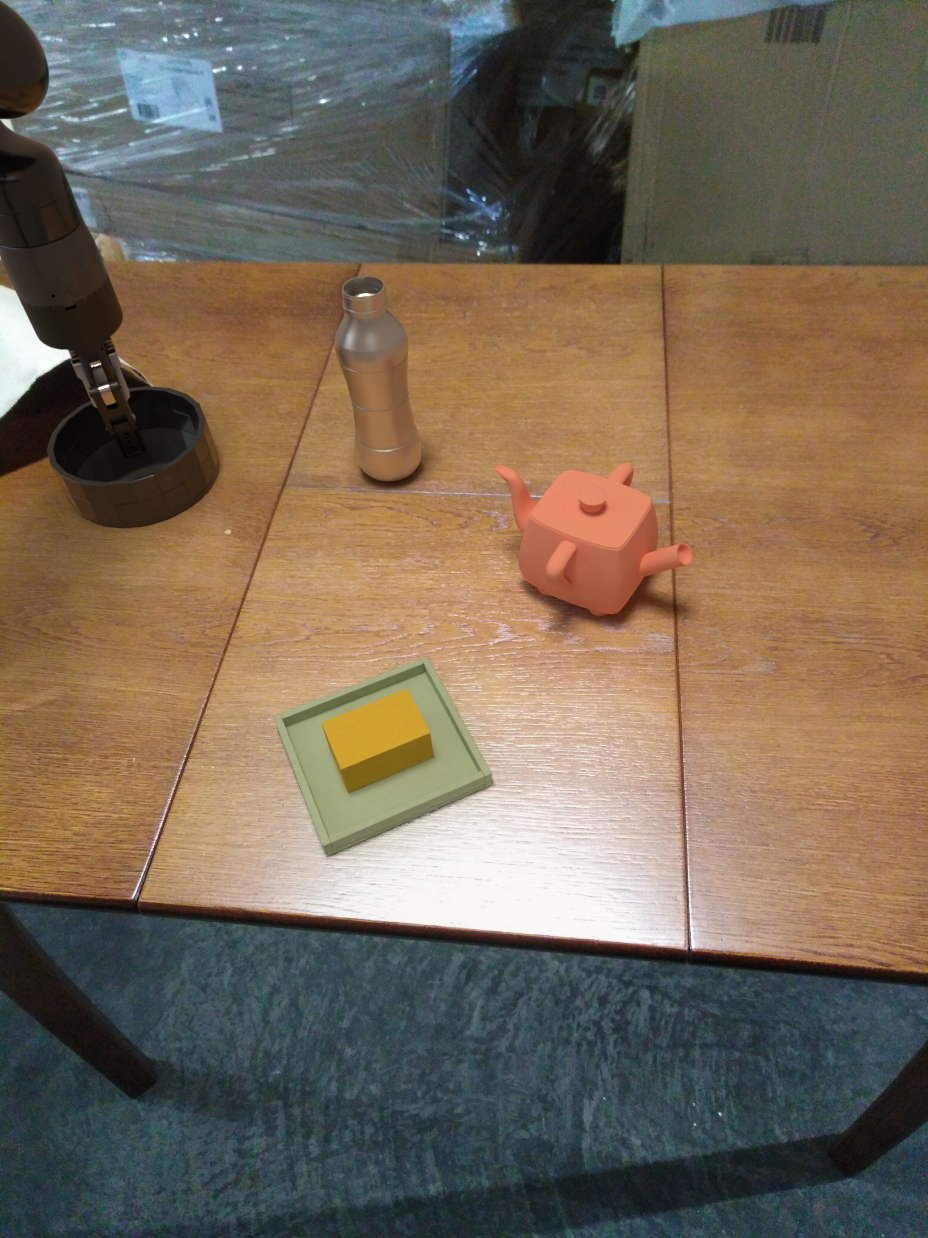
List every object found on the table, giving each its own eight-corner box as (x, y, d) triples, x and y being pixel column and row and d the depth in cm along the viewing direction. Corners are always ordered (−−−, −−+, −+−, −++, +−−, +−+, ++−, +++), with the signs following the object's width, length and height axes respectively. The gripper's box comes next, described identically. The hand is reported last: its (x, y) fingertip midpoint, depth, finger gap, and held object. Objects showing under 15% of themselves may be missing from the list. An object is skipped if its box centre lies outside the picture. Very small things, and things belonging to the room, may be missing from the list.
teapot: (647, 521, 84) (659, 435, 76) (684, 617, 76) (702, 532, 68) (497, 542, 83) (493, 458, 75) (520, 641, 76) (518, 559, 68)
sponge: (348, 793, 67) (340, 769, 64) (328, 747, 69) (320, 722, 67) (434, 757, 68) (430, 732, 66) (411, 713, 71) (407, 687, 68)
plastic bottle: (417, 492, 88) (395, 309, 73) (351, 487, 89) (315, 305, 74) (429, 449, 92) (410, 267, 77) (365, 445, 93) (334, 265, 78)
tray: (326, 857, 64) (322, 846, 63) (277, 727, 71) (273, 716, 70) (492, 784, 67) (492, 773, 66) (429, 667, 74) (427, 655, 73)
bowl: (82, 547, 86) (59, 505, 82) (59, 455, 95) (38, 413, 91) (235, 496, 89) (221, 453, 85) (199, 413, 98) (184, 370, 94)
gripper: (5, 252, 79) (80, 409, 92) (25, 333, 70) (104, 494, 83) (91, 230, 80) (152, 388, 94) (120, 307, 72) (183, 468, 85)
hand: (129, 437), depth 88 cm, fingers open, 5 cm apart
